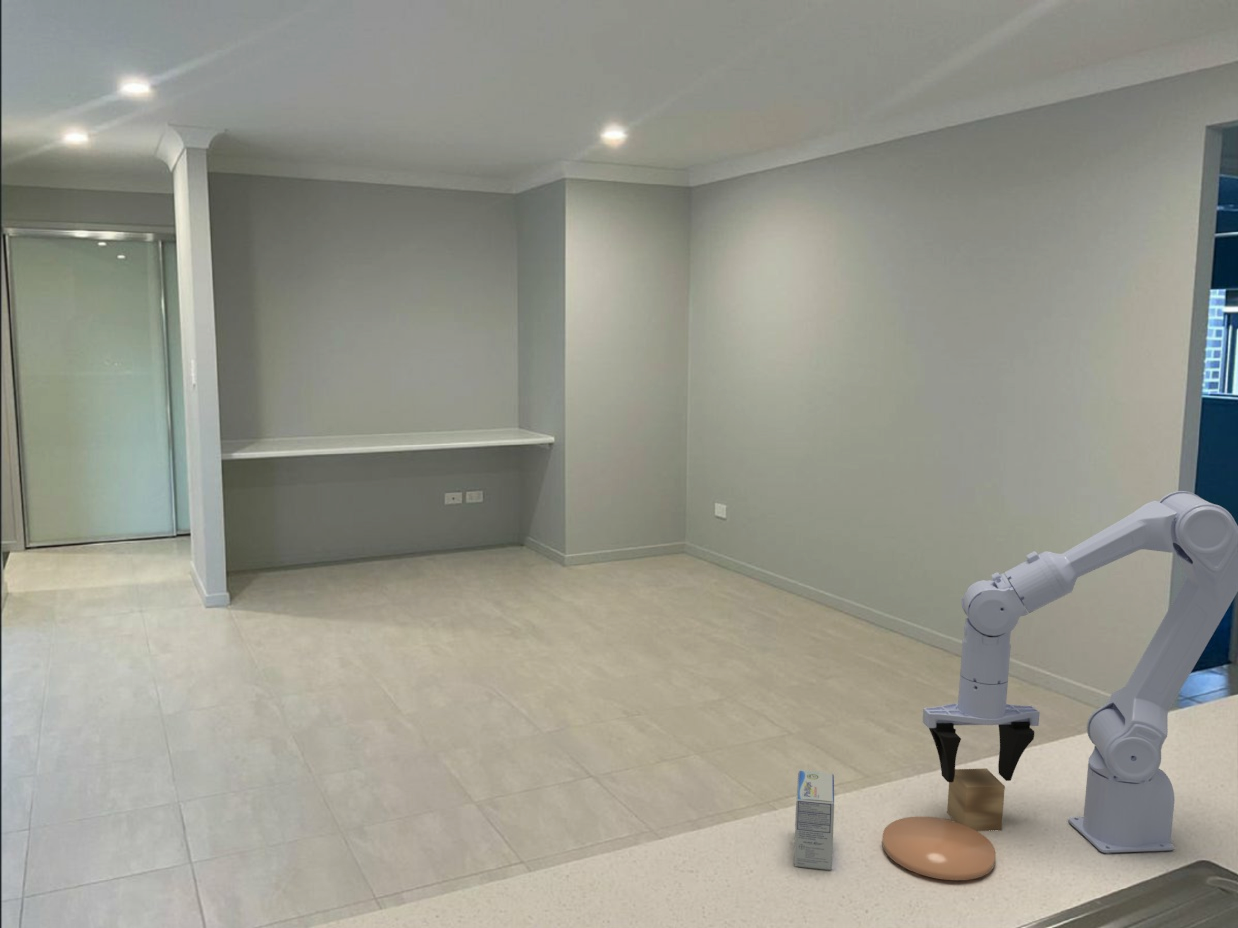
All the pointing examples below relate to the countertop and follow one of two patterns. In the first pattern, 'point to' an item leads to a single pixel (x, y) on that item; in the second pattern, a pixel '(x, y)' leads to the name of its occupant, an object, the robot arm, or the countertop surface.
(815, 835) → the medicine box
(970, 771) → the oak block
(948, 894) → the countertop surface
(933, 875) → the peach round disc
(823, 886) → the countertop surface
